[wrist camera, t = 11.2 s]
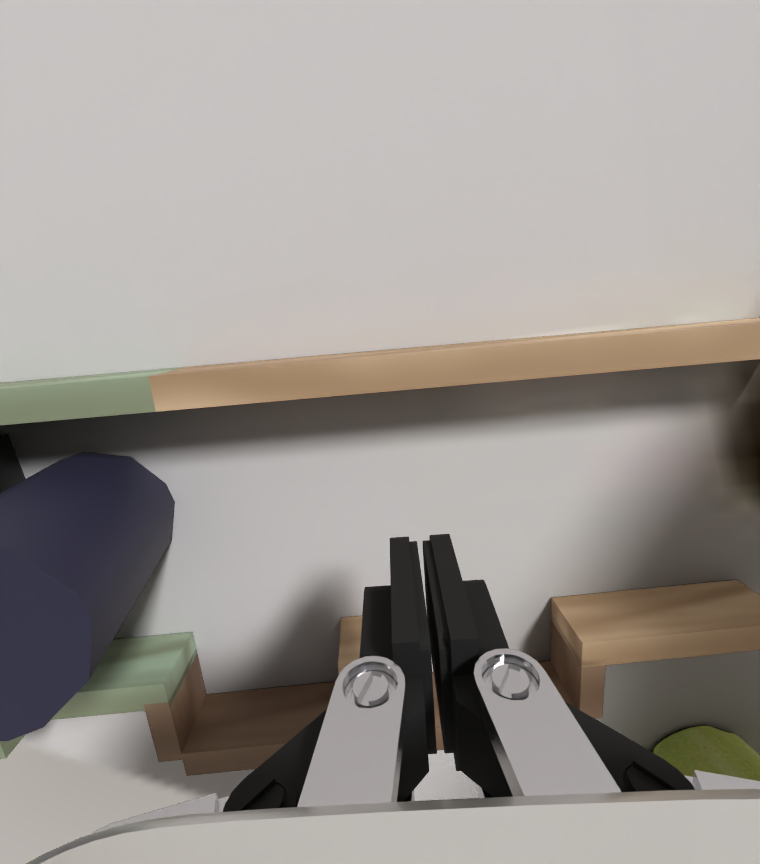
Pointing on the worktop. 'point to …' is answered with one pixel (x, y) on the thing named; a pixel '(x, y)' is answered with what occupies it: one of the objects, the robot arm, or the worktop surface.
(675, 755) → the plant pot
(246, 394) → the trap channel
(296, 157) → the worktop surface
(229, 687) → the worktop surface
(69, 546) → the black blue bulged block
